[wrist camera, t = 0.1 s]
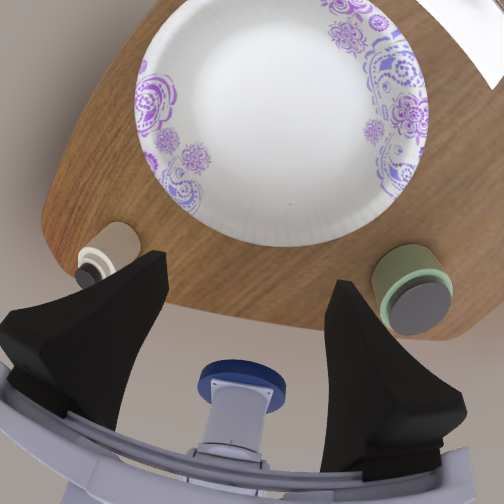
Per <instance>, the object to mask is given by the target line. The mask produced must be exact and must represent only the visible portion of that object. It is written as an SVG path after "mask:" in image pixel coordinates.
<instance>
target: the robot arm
mask: <svg viewBox="0 0 504 504" xmlns="http://www.w3.org/2000/svg"><path fill="white" fill-rule="evenodd" d="M168 291H169V284H168V274H167V263H166V252H162V251H156V250H152V251H150V252H148V253H146V254H145V255H143V256H141V257H140V258H138V259H136V260H135V261H133V262H131V263H130V264H128V265H127V266H125V267H123V268H122V269H120V270H118V271H117V272H115V273H113V274H111V275H110V276H108V277H106V278H104V279H103V280H101V281H99V282H97V283H95V284H93V285H91V286H89V287H87V288H85V289H83V290H81V291H79V292H77V293H74V294H71V295H68V296H66V297H63V298H61V299H58V300H55V301H52V302H49V303H45V304H41V305H38V306H34V307H29V308H24V309H18V310H13V311H10V312H9V314H8V315H7V316H6V317H5V319H4V320H3V321H2V322H1V324H0V346H1V348H2V349H3V350H4V352H5V353H6V355H7V356H8V358H9V359H10V360H11V362H12V363H13V365H14V368H13V369H12V371H11V370H10V369H9V368H8V367H7V366H6V365H5V364H3V363H2V362H0V430H1V431H2V432H3V433H4V434H6V435H7V436H8V437H9V438H10V439H11V440H13V441H14V442H15V443H16V444H17V445H19V446H20V447H21V448H23V449H24V450H25V451H26V452H28V453H29V454H30V455H32V456H33V457H34V458H36V459H37V460H38V461H40V462H41V463H43V464H44V465H45V466H47V467H48V468H50V469H51V470H53V471H54V472H56V473H57V474H59V475H61V476H62V477H64V478H65V479H67V480H69V481H68V484H67V487H66V489H65V492H64V495H63V497H62V500H61V503H60V504H466V503H468V502H471V501H473V500H475V498H476V494H475V484H474V477H473V471H472V463H471V458H470V453H469V447H463V448H459V449H456V450H452V451H448V452H446V453H443V454H441V455H440V449H439V448H441V447H443V445H444V443H443V437H444V436H446V435H447V434H448V433H450V432H451V431H452V430H454V429H455V428H456V427H458V426H459V425H460V424H461V423H462V422H463V421H464V419H465V418H466V416H467V410H466V406H465V403H464V400H463V396H462V393H461V392H459V391H458V390H456V389H455V388H453V387H451V386H450V385H448V384H447V383H445V382H443V381H442V380H441V379H439V378H438V377H437V376H435V375H434V374H432V373H431V372H430V371H429V370H428V369H426V368H425V367H424V366H423V365H421V364H420V363H419V362H418V361H417V360H416V359H415V358H414V357H413V356H411V355H410V354H409V353H408V352H407V351H406V350H405V349H404V348H403V347H402V346H401V345H400V344H399V342H398V341H397V340H396V339H395V338H394V337H393V336H392V335H391V334H390V332H389V331H388V330H387V329H386V327H385V326H384V325H383V324H382V323H381V321H380V320H379V319H378V317H377V316H376V315H375V313H374V312H373V311H372V309H371V308H370V307H369V305H368V304H367V302H366V301H365V300H364V298H363V297H362V295H361V294H360V293H359V291H358V290H357V288H356V287H355V286H354V284H353V283H352V282H351V281H345V280H338V279H337V282H336V285H335V288H334V291H333V294H332V297H331V300H330V302H329V305H328V308H327V311H326V313H325V327H324V335H325V336H324V337H325V347H326V357H327V367H328V378H329V403H328V418H327V430H326V437H325V445H324V452H323V458H322V463H321V468H320V473H308V472H286V471H274V470H270V466H269V464H268V463H267V462H266V460H261V453H260V447H261V440H262V433H263V425H264V418H265V414H266V411H267V408H268V405H269V403H270V400H271V397H272V394H273V388H271V387H264V386H257V385H251V384H245V383H239V382H233V381H227V380H222V379H217V378H212V379H211V399H212V404H211V408H210V412H209V416H208V420H207V424H206V428H205V432H204V436H203V439H202V443H199V444H198V448H192V449H190V450H189V451H187V452H186V454H185V455H183V454H179V453H175V452H171V451H168V450H165V449H162V448H158V447H155V446H152V445H149V444H146V443H143V442H140V441H137V440H134V439H132V438H129V437H127V436H124V435H121V434H119V433H116V432H115V429H116V424H117V419H118V415H119V410H120V406H121V402H122V399H123V395H124V392H125V388H126V385H127V382H128V379H129V376H130V373H131V370H132V367H133V365H134V362H135V359H136V357H137V354H138V352H139V350H140V348H141V346H142V344H143V342H144V340H145V338H146V337H147V335H148V333H149V331H150V329H151V327H152V326H153V324H154V322H155V320H156V318H157V316H158V315H159V312H160V311H161V309H162V306H163V304H164V302H165V299H166V296H167V294H168ZM104 448H105V449H104ZM106 449H107V450H106ZM108 450H109V451H108ZM110 451H111V452H110ZM112 452H114V453H116V454H119V455H121V456H124V457H126V458H129V459H131V460H134V461H137V462H140V463H143V464H145V465H148V466H151V467H154V468H157V469H160V470H163V471H167V472H170V473H174V474H178V475H179V480H176V479H172V478H168V477H165V476H162V475H158V474H155V473H151V472H148V471H145V470H143V469H140V468H137V467H134V466H132V465H129V464H126V463H124V462H123V461H121V460H120V459H119V457H118V456H117V455H115V454H114V453H112ZM267 491H277V492H294V493H286V494H284V496H283V498H281V499H271V498H265V497H266V493H267Z"/></svg>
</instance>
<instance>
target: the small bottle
mask: <svg viewBox="0 0 504 504" xmlns="http://www.w3.org/2000/svg"><path fill="white" fill-rule="evenodd" d="M140 248H141V245H140V240H139V237H138V235H137V234H136V232H135V231H134V230H133V229H132V228H131V227H130V226H129V225H127V224H125V223H123V222H112V223H110V224H109V225H108V226H106V227H105V228H104V229H103V230H102V231H101V232H100V233H99V234H98V235H96V236H95V237H94V238H93V239H92V240H91V241H90V242H89V243H88V244H87V245H86V246H84V247H83V248H82V249H81V250H80V252H79V255H78V269H77V270H76V272H75V279H76V281H77V283H78V284H79V286H80V287H81V288H82V289H85V288H87V287H89V286H91V285H93V284H95V283H97V282H99V281H101V280H103V279H104V278H106V277H108V276H110V275H111V274H113V273H115V272H117V271H118V270H120V269H122V268H123V267H125V266H127V265H128V264H130V263H131V262H133V261H134V259H135V258H136V257H137V256H138V254H139V252H140Z"/></svg>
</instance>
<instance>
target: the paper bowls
mask: <svg viewBox="0 0 504 504" xmlns="http://www.w3.org/2000/svg"><path fill="white" fill-rule="evenodd" d="M134 109H135V112H134V114H135V119H136V127H137V131H138V137H139V139H140V143H141V147H142V150H143V153H144V155H145V157H146V160H147V162H148V165H149V166H150V168H151V170H152V172H153V173H154V175H155V177H156V178H157V180H158V181H159V182H160V184H161V185H162V187H163V188H164V189H165V191H166V192H167V193H168V194H169V195H170V196H171V198H173V200H174V201H175V202H176V203H177V204H178V205H180V206H181V207H182V208H183V209H184V210H185V211H186V212H188V213H189V214H190V215H192V216H193V217H194V218H196V219H197V220H199V221H200V222H202V223H203V224H205V225H207V226H208V227H210V228H212V229H214V230H216V231H218V232H220V233H222V234H224V235H227V236H229V237H232V238H235V239H238V240H241V241H245V242H249V243H254V244H259V245H265V246H274V247H298V246H306V245H314V244H318V243H323V242H327V241H330V240H333V239H337V238H339V237H342V236H344V235H347V234H349V233H351V232H353V231H355V230H357V229H359V228H361V227H362V226H364V225H366V224H367V223H369V222H371V221H372V220H373V219H375V218H376V217H377V216H379V215H380V214H381V213H382V212H383V211H385V210H386V209H387V208H388V207H389V206H390V205H391V204H392V203H393V202H394V200H395V199H396V198H397V197H398V196H399V195H400V194H401V192H402V191H403V190H404V188H405V187H406V185H407V184H408V182H409V181H410V179H411V177H412V176H413V174H414V172H415V170H416V168H417V166H418V163H419V161H420V158H421V155H422V153H423V149H424V146H425V141H426V137H427V130H428V116H429V114H428V100H427V92H426V87H425V82H424V78H423V75H422V72H421V69H420V67H419V64H418V62H417V59H416V57H415V55H414V53H413V51H412V49H411V47H410V46H409V43H408V42H407V40H406V39H405V38H404V36H403V35H402V34H401V32H400V31H399V29H398V28H397V27H396V26H395V24H394V23H393V22H392V21H391V20H390V19H389V18H388V17H387V16H386V15H385V14H384V13H383V12H382V11H381V10H380V9H378V8H377V7H376V6H375V5H373V4H372V3H371V2H369V1H368V0H188V1H186V2H185V3H184V4H183V5H181V6H180V7H179V8H178V9H177V10H176V11H175V12H174V13H173V14H172V15H171V16H170V17H169V18H168V19H167V21H166V22H165V23H164V24H163V25H162V26H161V28H160V30H159V31H158V32H157V34H156V35H155V36H154V38H153V40H152V42H151V44H150V45H149V47H148V49H147V51H146V54H145V56H144V58H143V60H142V64H141V67H140V69H139V74H138V79H137V82H136V91H135V105H134Z"/></svg>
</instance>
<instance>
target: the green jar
mask: <svg viewBox="0 0 504 504" xmlns="http://www.w3.org/2000/svg"><path fill="white" fill-rule="evenodd" d="M371 287H372V290H373V294H374V297H375V300H376V303H377V307H378V310H379V314H380V317H381V320H382V322H383V323H384V324H385V325H386V326H387V327H388V328H390V329H392V330H394V331H395V332H397V333H398V334H401V335H417V334H421V333H423V332H426V331H428V330H430V329H431V328H433V327H434V326H436V325H437V324H438V323H439V322H440V321H441V320H442V319H443V318H444V317H445V315H446V314H447V312H448V310H449V308H450V305H451V297H452V292H453V286H452V282H451V279H450V278H449V276H448V275H447V273H446V272H445V270H444V268H443V267H442V265H441V264H440V263H439V261H438V260H437V258H436V257H435V255H434V254H433V252H432V251H431V250H430V249H428V248H427V247H425V246H422V245H419V244H407V245H403V246H400V247H397V248H395V249H393V250H391V251H390V252H388V253H387V254H386V255H385V256H384V257H383V258H382V259H381V260H380V261H379V262H378V264H377V265H376V267H375V269H374V271H373V274H372V279H371Z"/></svg>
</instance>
